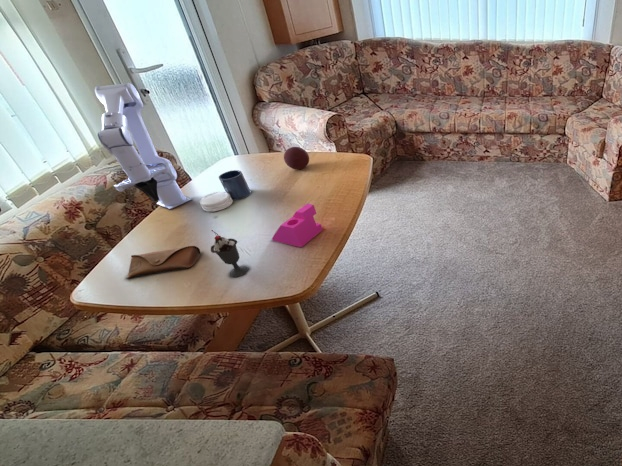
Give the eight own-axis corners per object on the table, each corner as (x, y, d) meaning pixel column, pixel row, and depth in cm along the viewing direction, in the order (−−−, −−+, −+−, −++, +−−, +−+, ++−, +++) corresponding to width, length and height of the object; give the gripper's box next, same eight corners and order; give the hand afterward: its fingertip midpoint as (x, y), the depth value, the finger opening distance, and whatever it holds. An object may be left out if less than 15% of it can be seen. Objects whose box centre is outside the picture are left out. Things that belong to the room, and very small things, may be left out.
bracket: (322, 229, 131) (313, 204, 125) (301, 247, 124) (290, 221, 118) (295, 223, 135) (285, 199, 129) (272, 240, 127) (260, 215, 121)
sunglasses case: (123, 279, 112) (116, 257, 111) (139, 275, 119) (133, 254, 118) (192, 267, 116) (186, 245, 115) (204, 263, 123) (199, 243, 122)
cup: (224, 197, 151) (214, 177, 146) (242, 188, 157) (233, 168, 152) (237, 201, 148) (226, 181, 143) (255, 192, 154) (245, 172, 149)
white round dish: (238, 203, 147) (234, 195, 145) (211, 215, 141) (207, 207, 139) (225, 196, 152) (221, 188, 150) (198, 207, 145) (193, 200, 143)
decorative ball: (316, 167, 171) (309, 147, 165) (293, 175, 166) (285, 154, 160) (306, 161, 177) (299, 141, 171) (284, 168, 171) (276, 148, 165)
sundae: (232, 265, 117) (209, 225, 108) (255, 263, 117) (233, 224, 108) (221, 280, 112) (196, 239, 103) (245, 278, 112) (222, 238, 103)
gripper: (113, 176, 117) (138, 212, 125) (163, 157, 128) (184, 192, 136) (101, 172, 120) (127, 208, 128) (151, 154, 130) (172, 188, 138)
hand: (155, 200), depth 132 cm, fingers closed
